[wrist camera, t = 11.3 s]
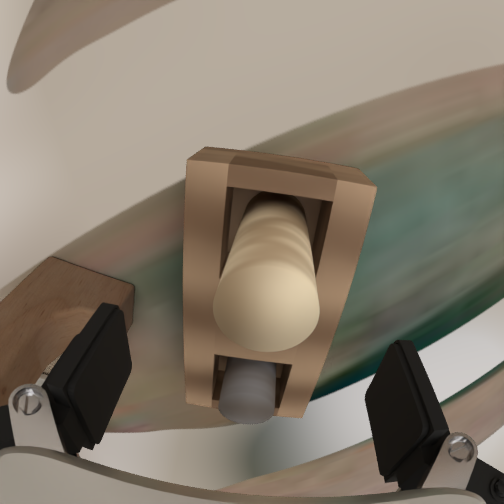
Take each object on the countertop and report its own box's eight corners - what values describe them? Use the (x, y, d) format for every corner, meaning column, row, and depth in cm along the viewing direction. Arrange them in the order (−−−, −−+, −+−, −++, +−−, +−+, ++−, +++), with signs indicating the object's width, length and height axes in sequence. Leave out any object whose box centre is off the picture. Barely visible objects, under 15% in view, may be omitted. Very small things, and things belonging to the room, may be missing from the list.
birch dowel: (310, 193, 20) (330, 274, 11) (300, 251, 22) (307, 357, 13) (246, 185, 20) (215, 258, 11) (241, 243, 22) (211, 344, 13)
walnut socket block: (300, 380, 29) (302, 441, 23) (196, 366, 29) (179, 425, 23) (358, 168, 20) (391, 202, 14) (205, 146, 20) (171, 170, 14)
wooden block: (136, 283, 26) (25, 475, 10) (133, 323, 28) (47, 499, 12) (49, 253, 25) (-82, 393, 9) (53, 293, 27) (-54, 430, 11)
